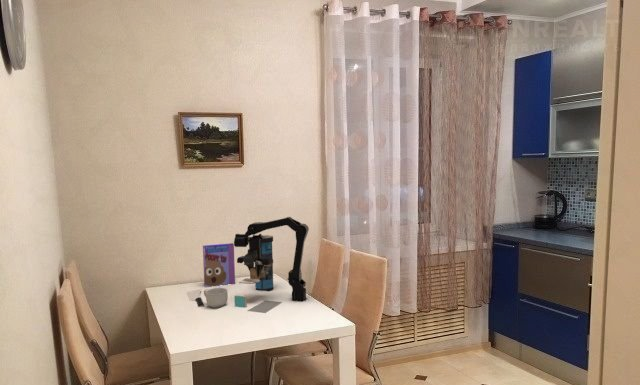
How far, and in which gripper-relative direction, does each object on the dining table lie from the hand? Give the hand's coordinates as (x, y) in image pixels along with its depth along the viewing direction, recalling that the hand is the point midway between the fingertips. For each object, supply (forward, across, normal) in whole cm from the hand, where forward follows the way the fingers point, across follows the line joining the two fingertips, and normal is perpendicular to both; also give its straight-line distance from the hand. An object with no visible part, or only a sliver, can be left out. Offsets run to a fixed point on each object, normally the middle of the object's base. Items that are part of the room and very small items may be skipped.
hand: (255, 276), depth 232 cm
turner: (+1, 0, -1) cm, 2 cm away
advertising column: (+12, -5, +19) cm, 23 cm away
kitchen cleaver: (+13, -32, -9) cm, 36 cm away
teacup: (+12, -15, -15) cm, 24 cm away
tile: (+12, 0, -14) cm, 19 cm away
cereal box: (+12, -36, +20) cm, 43 cm away
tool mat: (+12, +11, -10) cm, 19 cm away
